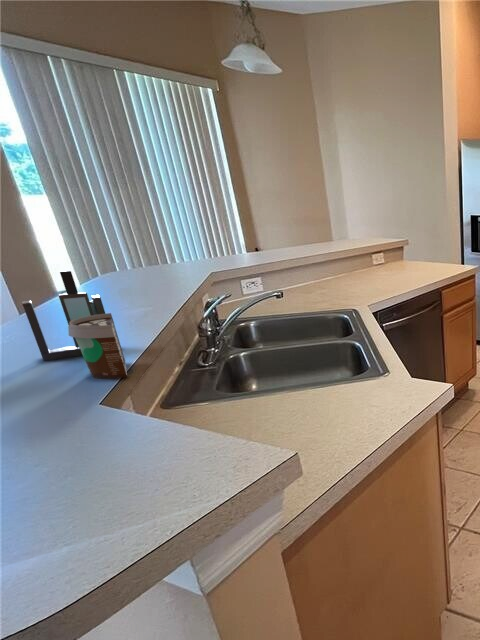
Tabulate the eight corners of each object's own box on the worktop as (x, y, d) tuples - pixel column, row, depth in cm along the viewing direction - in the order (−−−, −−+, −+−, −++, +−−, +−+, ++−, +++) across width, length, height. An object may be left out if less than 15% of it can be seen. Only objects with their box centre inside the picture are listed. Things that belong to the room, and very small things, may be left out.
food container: (84, 367, 85) (67, 316, 82) (125, 361, 89) (110, 312, 85) (81, 386, 77) (61, 330, 73) (127, 379, 80) (110, 325, 77)
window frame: (43, 361, 88) (22, 303, 84) (42, 357, 90) (21, 301, 85) (116, 350, 95) (100, 297, 91) (114, 347, 97) (98, 295, 93)
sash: (76, 348, 91) (50, 271, 85) (75, 346, 92) (50, 271, 86) (103, 344, 94) (79, 270, 88) (102, 343, 94) (79, 269, 89)
